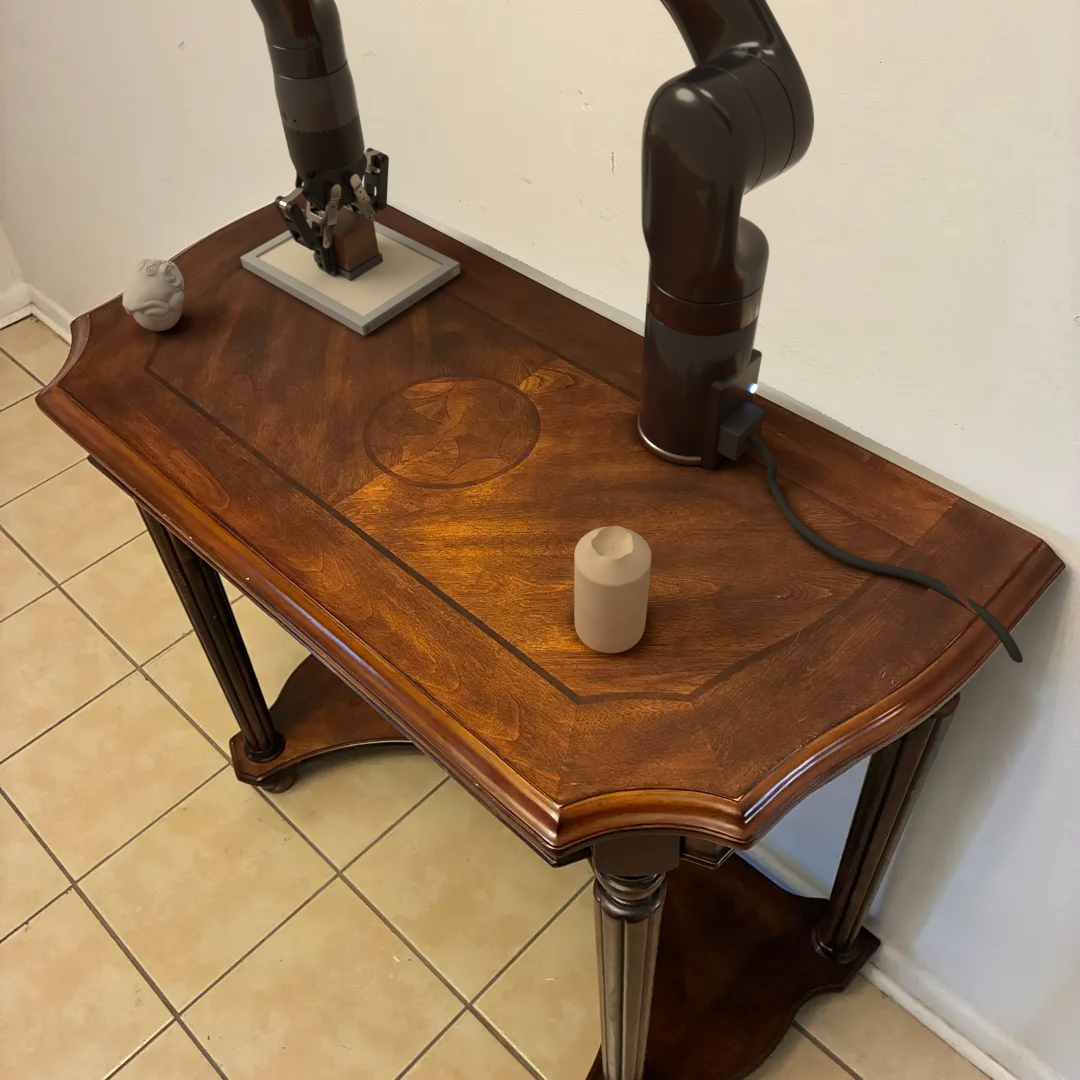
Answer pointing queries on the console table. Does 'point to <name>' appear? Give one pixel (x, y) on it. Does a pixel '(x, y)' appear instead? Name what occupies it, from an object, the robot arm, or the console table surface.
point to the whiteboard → (367, 296)
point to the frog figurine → (155, 294)
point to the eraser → (354, 244)
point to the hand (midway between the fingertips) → (349, 260)
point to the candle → (611, 588)
